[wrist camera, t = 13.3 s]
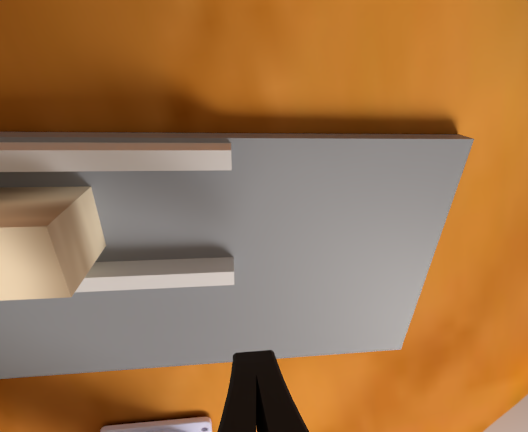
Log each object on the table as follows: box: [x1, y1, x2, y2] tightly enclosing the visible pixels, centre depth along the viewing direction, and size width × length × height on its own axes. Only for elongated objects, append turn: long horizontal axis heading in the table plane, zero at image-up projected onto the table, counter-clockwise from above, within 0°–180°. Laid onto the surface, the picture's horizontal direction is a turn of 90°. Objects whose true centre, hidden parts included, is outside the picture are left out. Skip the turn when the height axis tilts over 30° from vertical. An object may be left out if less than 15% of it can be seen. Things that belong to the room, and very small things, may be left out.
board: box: [0, 132, 474, 379], centre depth 13 cm, size 14×30×6 cm, turn 88°
